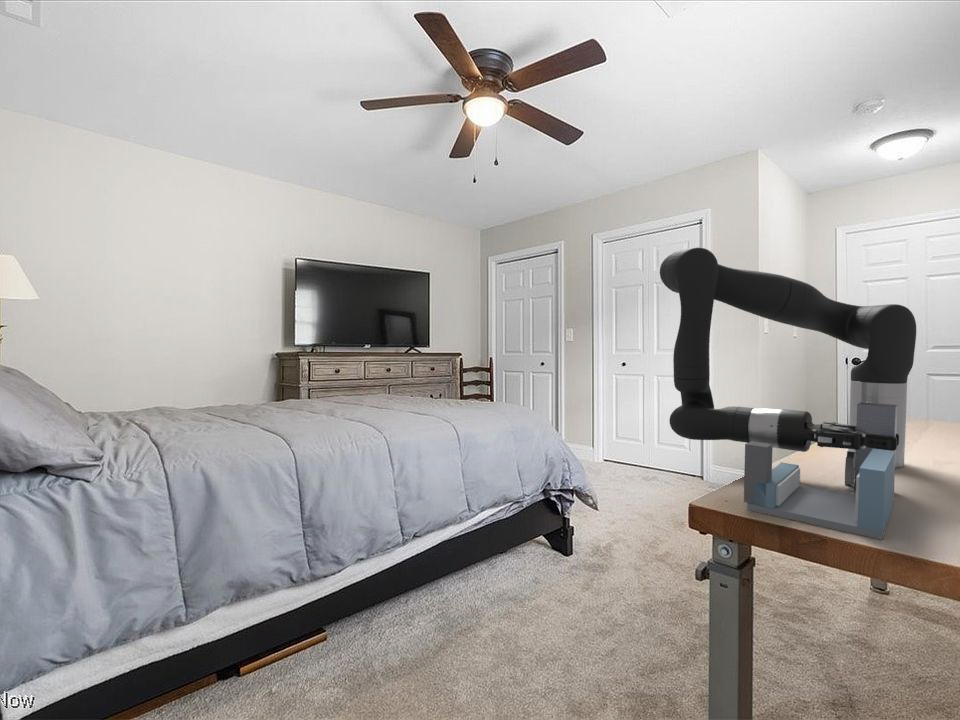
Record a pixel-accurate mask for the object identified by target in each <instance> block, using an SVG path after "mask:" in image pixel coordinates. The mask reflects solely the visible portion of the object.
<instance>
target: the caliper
mask: <svg viewBox="0 0 960 720" xmlns="http://www.w3.org/2000/svg"><path fill="white" fill-rule="evenodd" d="M854 481H855V452H851V451H848V450H847V451H846V457H845V466H844V485H846V486H853V485H854Z"/></svg>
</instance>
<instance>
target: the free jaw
mask: <svg viewBox="0 0 960 720" xmlns="http://www.w3.org/2000/svg"><path fill="white" fill-rule="evenodd" d="M772 446H773V444H768V443H760V442H753V441H750V442H749V443H745V444H744V475H743V476H744V479H743V481H744V482H743V483H744V484H743V503H746V504H747V503H750V504H755V505H759V506H764V507H769V508H775V507H776V506H779V505H780V504H781V503H782V502H784V501H785V500H786V499H787V498H788V497H789V496H790V495H791V494H792V493H793V492H794V491H795V490H796V489H797V488H798V487H799V486H800V484H801V467H800V465H799V464H795V463H787V462H779V464H777V465H776V466H775V467H773V448H772Z"/></svg>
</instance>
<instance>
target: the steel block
mask: <svg viewBox="0 0 960 720" xmlns="http://www.w3.org/2000/svg"><path fill="white" fill-rule="evenodd" d="M896 431H897V405H891V404H877V403H863V402H860V403H859V404H857V424H856V432H859V433H861V432H863V433H866V434H867V436H868V434H872V435H882V436H891V437H895V438H896ZM872 449H873V448H864V449H861V448H860V449H859V450H856V453H855V480H854V484H853V489H854V490H853V492H856V477H857V475H858V474H859V469H860V466H861V465H862V464H863V462H864V461H865V459H866V458H867V456H868V455H869V454H870V452H871V451H872ZM874 449H875V448H874ZM882 450H883V449H882ZM890 451H891V450H890ZM894 451H895V457H896V450H894ZM895 477H896V468H895V460H894V484H895V482H896V481H895V479H896V478H895ZM894 494H895V486H894V487H893V495H894Z"/></svg>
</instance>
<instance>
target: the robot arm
mask: <svg viewBox="0 0 960 720" xmlns="http://www.w3.org/2000/svg"><path fill="white" fill-rule="evenodd" d="M659 275H660V280H661V282H662V283H663V284H664V286H665V287H666V288H667V289H668V290H670V291H671V292H673V293H676V294H678V295H679V302H680V303H679V304H680V317H679V318H680V319H679V326H678V331H677V335H676V340H675V342H674V347H673V349H674V350H673V355H672V356H673V358H672V359H673V360H672V362H673V367H672V368H673V383H674V384H673V385H674V387H675V389H676V390H677V391H678V392H679V393H680V398H681V405H679V406H678V407H676V408H675V409H674V410H673V411H672V412H671V414H670V416H669V419H668V420H669V421H668V422H669V427H670V428H671V430H672V431H673V432H674V433H675V434H676V435H677V436H680V437H681V438H684V439H687V440H696V441H721V440H724V441H726V440H727V441H732V442H739V443H745V444H747V443H749V442H750V441H753V442H760V443H768V444H773V446H772V449H781V450H789V451H795V452H796V451H797V452H802V453H806V452H808V451H809V450H810V447H811V445H812V442H813V443H817V445H816V446H817V447H820V448H832V449H833V448H834V449H847V451H851V452H855V453H856V450H859V449H860V448H861V449H864V448H875V449H883V450H891V451H894V450H896V457H895V469H897V468H903V467H904V466H905V455H906V454H905V450H906V432H907V431H906V426H907V424H906V423H907V402H908V376H909V374H910V372H911V370H912V369H913V365H914V358H915V350H916V341H917V323H916V318H915V315H914V313H913V312H912V310H910V309H909V308H908V307H907V306H904V305H901V304H894V303H893V304H891V303H890V304H879V305H862V306H861V305H854V304H851V303H850V304H848V303H844V302H841V301H840V302H839V301H837V300H833V299H832V298H829V297H827V296H826V295H824V294H823V293H822V292H821V291H819V290H818V289H817V288H816V287H815V286H813V285H811V284H810V283H807V282H804V281H802V280H799V279H795V278H791V277H789V276H784V275H782V274H777V273H771V272H764V271H759V270H757V271H756V270H749V269H739V268H733V267H729V266H726V265H721V264H719V263H718V260H717V258H716V256H715V254H714V253H713V252H712V251H711V250H709V249H707V248H705V247H701V246H700V247H699V246H695V247H689V248H685V249H680V250H677V251H674V252H673V253H671V254H669V255H668V256H667V257H665V258H664V260H663V261H662V262H661V264H660V267H659ZM715 301H718V302H721V303H724V304H726V305H728V306H731V307H734V308H736V309H737V310H742V311H743V312H747V313H748V314H753V315H754V316H755V315H756V316H758V317H760V318H763V319H768V320H770V321H774V322H777V323H781V324H783V325H784V324H785V325H789V326H793V327H796V328H801V329H806V330H810V331H816V332H819V333H822V334H825V335H828V336H829V337H832V338H835V339H836V340H839V341H842V342H843V343H846V344H849V345H851V346H854V347H857V348H858V349H859V348H860V349H866V350H868V351H867V356H866V358H865V360H864V361H863V362H861V363H860V364H858V365H855V366H853V367H852V368H851V370H850V386H849V387H850V390H849V392H850V394H849V417H848V419H849V421H848V424H845V423H839V422H838V423H837V422H835V421H822V423H820V424H817V423H816V424H814V423H813V417H812V414H811V413H810V411H806V410H794V409H783V408H772V407H771V408H770V407H762V408H761V407H760V408H759V407H749V406H748V407H747V406H746V407H745V406H726V407H722V408H715V405H714V403H715V402H714V398H713V394H712V390H711V386H710V376H711V375H710V371H711V370H710V342H711V341H710V340H711V339H710V337H711V326H712V318H713V309H714V303H715ZM860 402H863V403H877V404H891V405H897V431H896V438H895V437H891V436H882V435H872V434H868V436H867V434H866V433H863V432H861V433H859V432H856V424H857V404H859V403H860Z"/></svg>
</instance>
